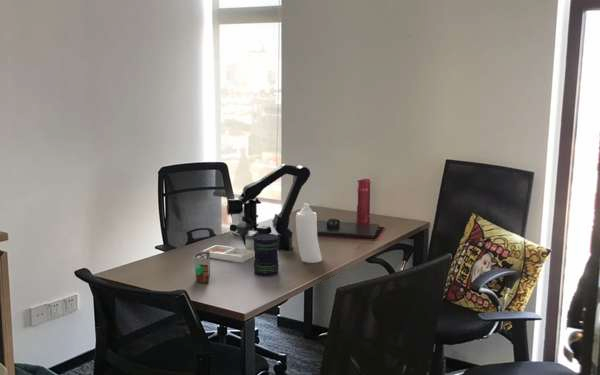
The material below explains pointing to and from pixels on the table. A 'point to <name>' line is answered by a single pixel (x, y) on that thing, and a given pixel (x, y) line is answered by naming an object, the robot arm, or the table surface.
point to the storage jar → (266, 255)
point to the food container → (202, 266)
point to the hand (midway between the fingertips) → (250, 247)
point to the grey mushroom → (249, 241)
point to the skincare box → (238, 219)
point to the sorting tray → (230, 253)
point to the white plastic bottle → (307, 235)
